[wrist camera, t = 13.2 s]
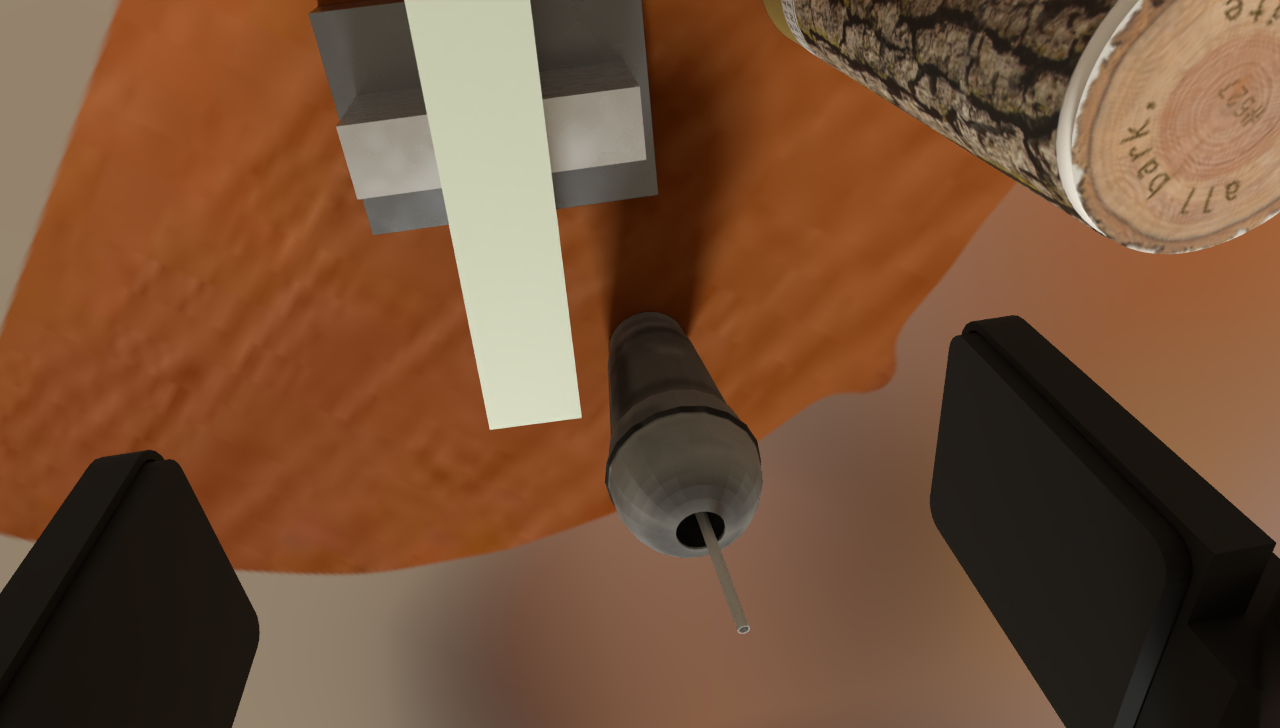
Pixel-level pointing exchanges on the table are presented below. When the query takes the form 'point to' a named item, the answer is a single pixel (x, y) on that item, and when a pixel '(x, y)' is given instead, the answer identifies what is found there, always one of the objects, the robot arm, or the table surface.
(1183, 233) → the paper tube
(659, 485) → the beverage cup
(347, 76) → the ridge stand
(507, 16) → the batten
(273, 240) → the table surface
